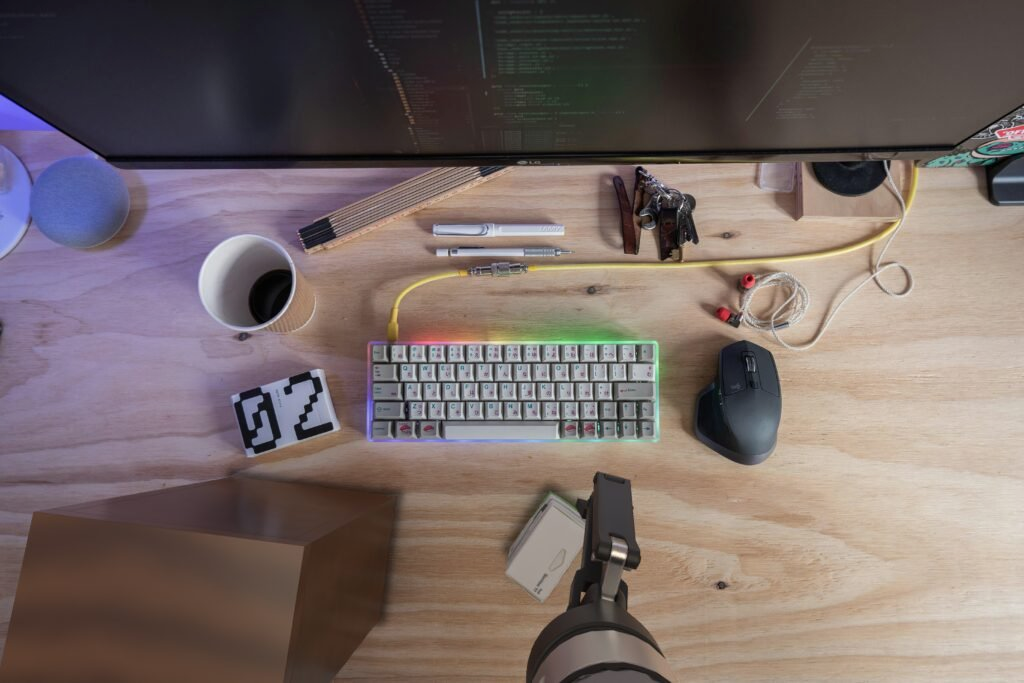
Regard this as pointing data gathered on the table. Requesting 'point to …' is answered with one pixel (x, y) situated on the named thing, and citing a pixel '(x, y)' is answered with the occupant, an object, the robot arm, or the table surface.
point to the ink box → (546, 547)
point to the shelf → (153, 603)
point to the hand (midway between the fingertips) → (572, 587)
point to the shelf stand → (299, 516)
